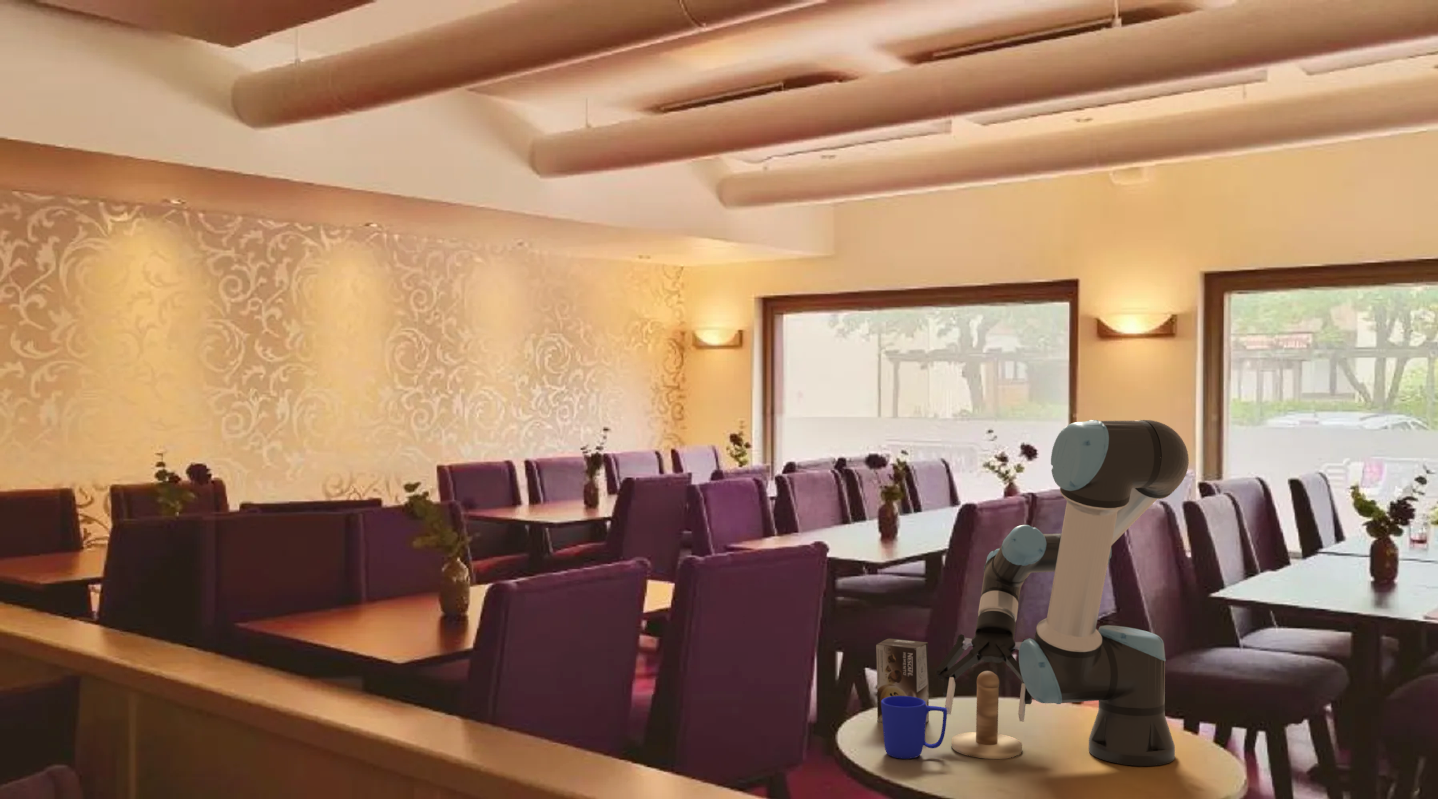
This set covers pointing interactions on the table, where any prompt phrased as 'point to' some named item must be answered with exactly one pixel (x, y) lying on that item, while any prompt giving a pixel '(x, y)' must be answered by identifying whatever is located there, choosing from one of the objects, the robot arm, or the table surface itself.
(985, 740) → the wooden peg on disc
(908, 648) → the coffee box
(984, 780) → the table surface
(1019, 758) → the table surface
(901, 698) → the mug
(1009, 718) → the table surface
